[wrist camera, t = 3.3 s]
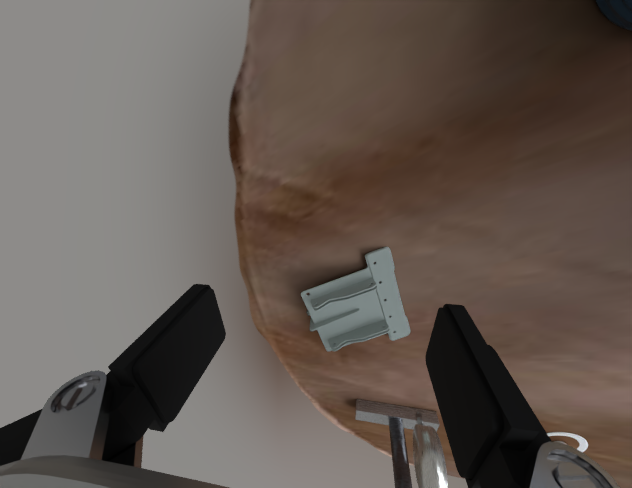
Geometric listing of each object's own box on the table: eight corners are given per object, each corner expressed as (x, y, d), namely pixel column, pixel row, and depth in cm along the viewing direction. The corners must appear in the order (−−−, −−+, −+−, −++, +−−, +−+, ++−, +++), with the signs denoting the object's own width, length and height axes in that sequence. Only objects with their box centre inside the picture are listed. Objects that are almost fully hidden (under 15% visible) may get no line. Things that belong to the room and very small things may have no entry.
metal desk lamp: (362, 335, 36) (363, 521, 19) (459, 346, 33) (561, 569, 17) (355, 407, 44) (353, 577, 28) (432, 420, 42) (480, 614, 25)
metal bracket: (327, 373, 33) (287, 290, 27) (322, 342, 38) (288, 268, 32) (423, 340, 32) (403, 248, 26) (404, 313, 37) (384, 232, 32)
